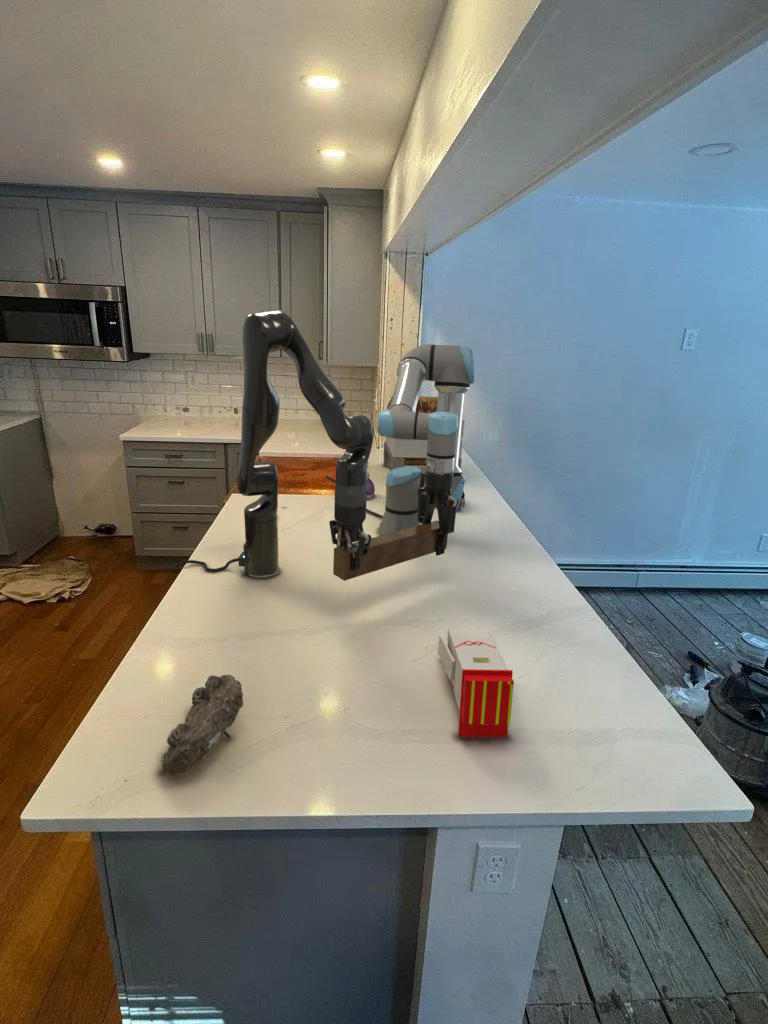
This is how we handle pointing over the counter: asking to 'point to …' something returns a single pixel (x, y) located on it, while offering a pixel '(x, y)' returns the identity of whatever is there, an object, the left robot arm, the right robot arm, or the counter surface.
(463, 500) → the figurine character
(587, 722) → the counter surface
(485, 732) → the toy
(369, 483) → the figurine
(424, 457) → the transformer
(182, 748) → the fossil
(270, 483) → the left robot arm
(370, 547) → the plank
